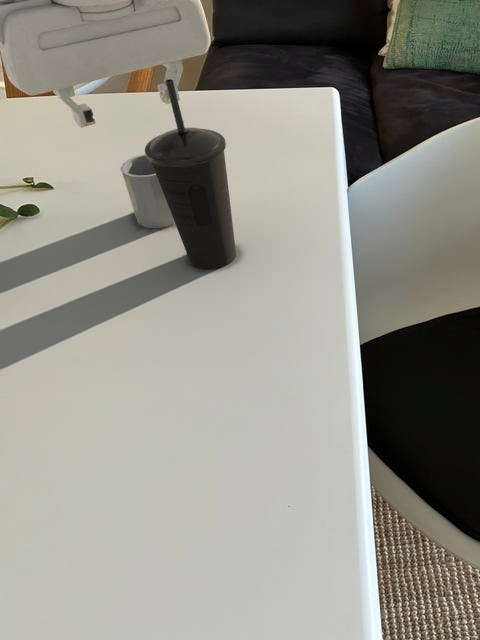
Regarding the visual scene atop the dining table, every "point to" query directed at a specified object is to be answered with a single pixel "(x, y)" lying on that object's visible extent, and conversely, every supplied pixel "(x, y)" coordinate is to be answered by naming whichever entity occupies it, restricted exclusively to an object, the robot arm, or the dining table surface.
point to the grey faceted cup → (146, 193)
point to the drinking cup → (195, 189)
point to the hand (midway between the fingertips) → (129, 112)
